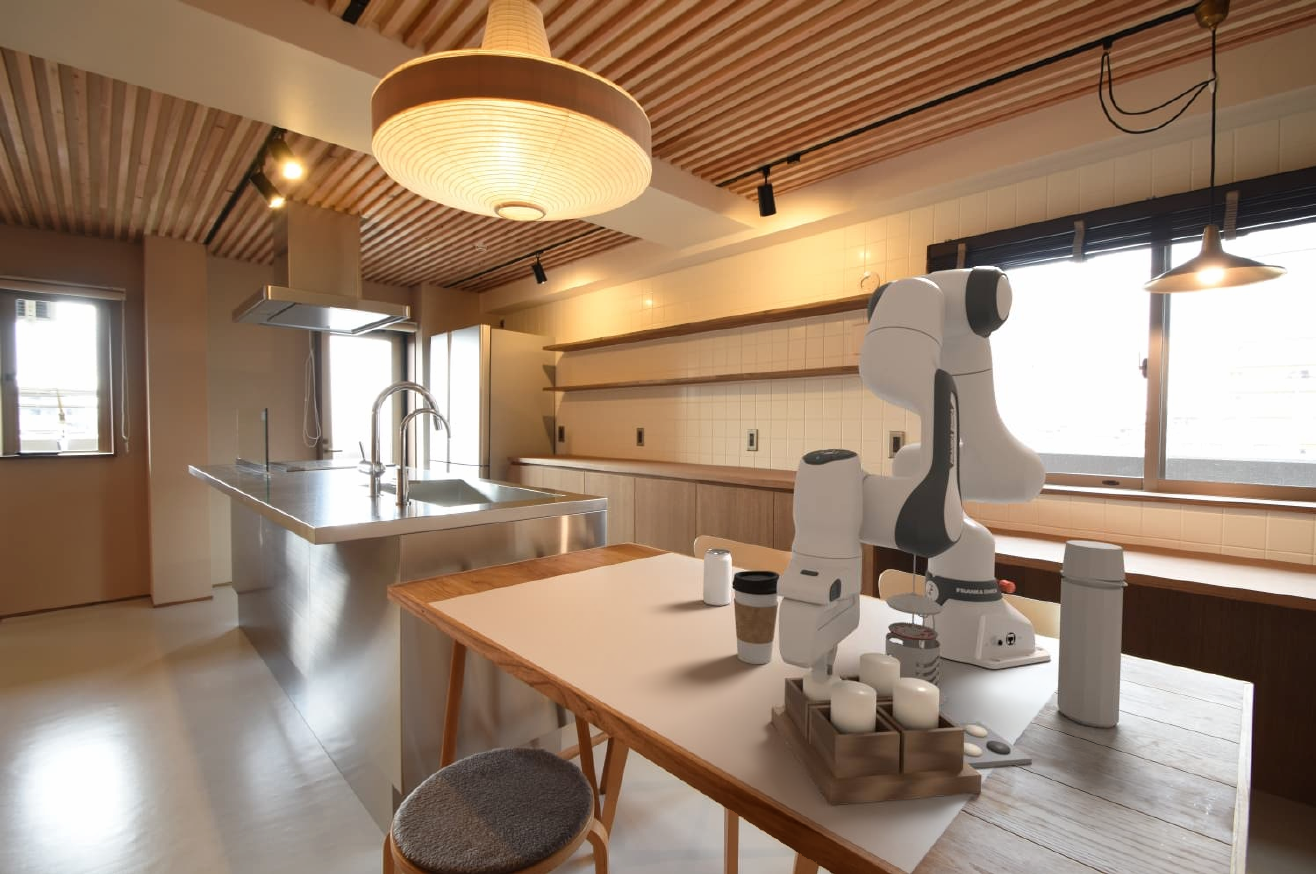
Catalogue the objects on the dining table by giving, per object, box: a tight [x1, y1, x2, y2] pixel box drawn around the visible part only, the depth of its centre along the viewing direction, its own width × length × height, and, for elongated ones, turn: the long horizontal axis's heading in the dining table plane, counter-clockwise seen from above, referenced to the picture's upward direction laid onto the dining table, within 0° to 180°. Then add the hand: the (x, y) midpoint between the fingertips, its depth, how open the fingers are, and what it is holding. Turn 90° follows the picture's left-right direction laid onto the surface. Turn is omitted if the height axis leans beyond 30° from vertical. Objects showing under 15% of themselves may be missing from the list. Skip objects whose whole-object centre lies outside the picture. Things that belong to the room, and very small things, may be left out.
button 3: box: [858, 652, 900, 698], centre depth 77 cm, size 5×5×5 cm
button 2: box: [830, 680, 876, 735], centre depth 68 cm, size 5×5×5 cm
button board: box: [770, 674, 982, 806], centre depth 72 cm, size 18×18×6 cm
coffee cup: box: [731, 570, 780, 665], centre depth 102 cm, size 8×8×15 cm
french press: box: [884, 554, 947, 706], centre depth 91 cm, size 10×12×25 cm
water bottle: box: [1056, 540, 1129, 728], centre depth 83 cm, size 9×8×25 cm
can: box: [702, 548, 733, 607], centre depth 135 cm, size 6×6×12 cm
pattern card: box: [955, 721, 1033, 769], centre depth 75 cm, size 9×9×1 cm
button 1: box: [803, 671, 842, 701], centre depth 75 cm, size 5×5×5 cm
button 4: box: [892, 678, 940, 731], centre depth 69 cm, size 5×5×5 cm
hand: (822, 679), depth 75 cm, fingers closed, pressing on button 1
